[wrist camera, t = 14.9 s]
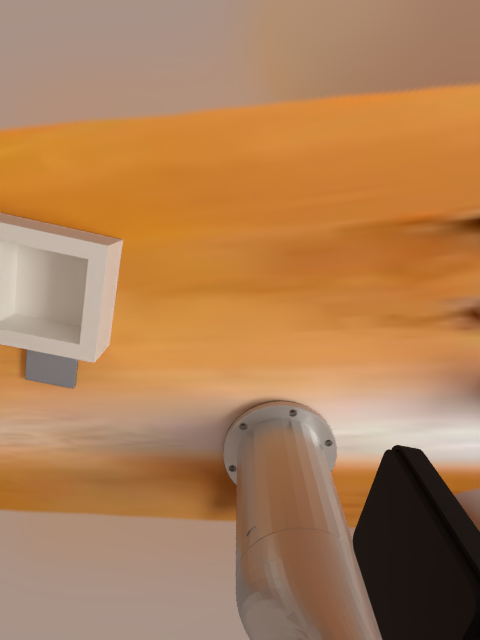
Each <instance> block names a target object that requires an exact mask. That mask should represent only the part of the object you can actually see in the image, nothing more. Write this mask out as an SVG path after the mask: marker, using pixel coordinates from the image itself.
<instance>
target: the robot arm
mask: <svg viewBox="0 0 480 640" xmlns="http://www.w3.org/2000/svg"><path fill="white" fill-rule="evenodd" d="M242 423H244V424H242ZM336 457H337V447H336V442H335V438H334V435H333V433H332V430H331V429H330V427H329V425H328V424H327V422H326V421H325V420H324V419H323V418H322V417H321V416H320V415H319V414H318V413H316V412H315V411H314V410H312V409H310V408H308V407H306V406H304V405H301V404H297V403H293V402H284V401H277V402H268V403H265V404H261V405H258V406H256V407H253V408H251V409H249V410H248V411H246V412H245V413H243V414H242V415H241V416H239V417H238V419H237V420H236V421H235V422H234V423H233V424H232V426H231V427H230V429H229V430H228V432H227V435H226V438H225V440H224V448H223V460H224V465H225V469H226V471H227V473H228V475H229V477H230V478H231V480H232V481H233V482H234V484H236V485H237V502H236V601H237V607H238V612H239V616H240V618H241V621H242V624H243V626H244V629H245V631H246V633H247V635H248V637H249V638H250V640H480V532H479V530H478V529H477V527H476V526H475V525H474V523H473V522H472V520H471V519H470V518H469V516H468V515H467V514H466V512H465V511H464V509H463V508H462V506H461V505H460V504H459V502H458V501H457V499H456V498H455V496H454V495H453V494H452V492H451V491H450V489H449V488H448V487H447V485H446V484H445V482H444V481H443V479H442V478H441V477H440V475H439V474H438V472H437V471H436V470H435V468H434V467H433V465H432V464H431V463H430V461H429V460H428V458H427V457H426V455H425V454H424V453H423V452H422V451H421V450H420V449H416V448H411V447H405V446H400V445H396V446H394V447H393V448H392V450H386V452H385V453H384V455H383V458H382V460H381V463H380V466H379V468H378V471H377V474H376V476H375V479H374V482H373V484H372V487H371V489H370V492H369V495H368V497H367V500H366V503H365V505H364V508H363V511H362V513H361V516H360V518H359V521H358V524H357V526H356V529H355V532H354V535H353V540H352V536H351V534H350V530H349V527H348V524H347V521H346V518H345V515H344V512H343V509H342V506H341V503H340V500H339V497H338V494H337V491H336V488H335V484H334V481H333V478H332V475H331V472H332V470H333V468H334V466H335V461H336Z"/></svg>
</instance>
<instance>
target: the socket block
mask: <svg viewBox="0 0 480 640" xmlns="http://www.w3.org/2000/svg"><path fill="white" fill-rule="evenodd" d="M122 244H123V240H122V239H118V238H113V237H108V236H104V235H99V234H95V233H90V232H86V231H81V230H77V229H72V228H68V227H63V226H59V225H54V224H50V223H45V222H41V221H36V220H31V219H27V218H22V217H18V216H13V215H9V214H4V213H0V344H2V345H7V346H12V347H17V348H22V349H27V359H26V375H25V379H26V380H31V381H36V382H41V383H47V384H52V385H57V386H62V387H67V388H72V389H73V388H74V387H75V385H76V376H77V366H78V360H83V361H88V362H93V363H94V362H95V361H96V360H97V359H98V358H99V357H100V355H101V354H102V353H103V352H104V351H105V350H106V348H107V347H108V346H109V344H110V337H111V329H112V321H113V314H114V306H115V298H116V290H117V283H118V275H119V267H120V260H121V252H122Z"/></svg>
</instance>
